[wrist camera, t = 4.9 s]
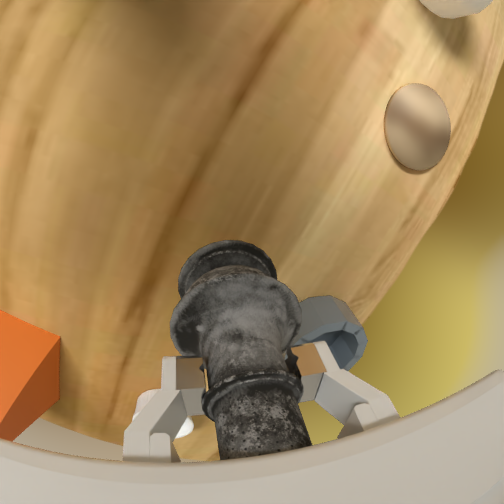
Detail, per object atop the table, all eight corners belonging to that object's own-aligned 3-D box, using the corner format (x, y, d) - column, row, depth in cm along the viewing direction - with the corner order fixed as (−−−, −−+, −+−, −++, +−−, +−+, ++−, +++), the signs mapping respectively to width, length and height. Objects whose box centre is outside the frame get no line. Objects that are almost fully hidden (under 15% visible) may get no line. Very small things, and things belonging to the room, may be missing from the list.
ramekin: (140, 416, 40) (139, 438, 37) (129, 384, 36) (126, 408, 33) (193, 417, 42) (195, 439, 38) (190, 385, 38) (192, 409, 34)
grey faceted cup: (277, 300, 34) (289, 329, 29) (357, 292, 36) (376, 316, 31) (270, 362, 38) (279, 390, 34) (340, 351, 40) (354, 375, 36)
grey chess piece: (299, 292, 17) (395, 488, 7) (214, 340, 18) (248, 538, 7) (246, 211, 14) (364, 474, 4) (149, 274, 15) (128, 526, 4)
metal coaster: (386, 74, 24) (389, 73, 23) (449, 95, 26) (453, 95, 25) (379, 164, 28) (382, 166, 28) (441, 173, 30) (444, 174, 30)
